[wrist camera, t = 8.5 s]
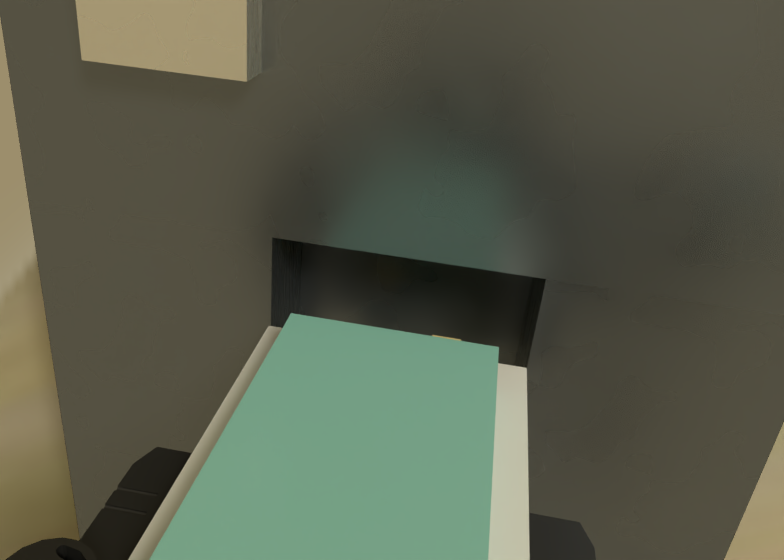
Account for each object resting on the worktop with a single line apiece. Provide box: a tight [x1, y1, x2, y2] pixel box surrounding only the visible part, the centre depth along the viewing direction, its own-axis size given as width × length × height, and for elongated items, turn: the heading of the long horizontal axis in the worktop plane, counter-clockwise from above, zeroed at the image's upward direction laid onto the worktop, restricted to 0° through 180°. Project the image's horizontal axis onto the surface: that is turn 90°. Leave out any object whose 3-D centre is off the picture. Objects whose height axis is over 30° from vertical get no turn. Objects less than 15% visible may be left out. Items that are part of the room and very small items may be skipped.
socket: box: [0, 0, 784, 560], centre depth 17 cm, size 22×16×4 cm
